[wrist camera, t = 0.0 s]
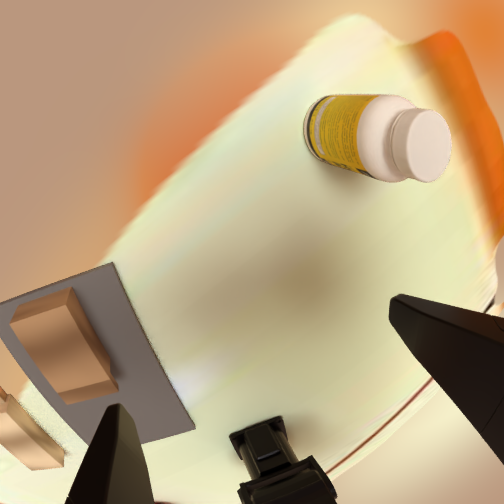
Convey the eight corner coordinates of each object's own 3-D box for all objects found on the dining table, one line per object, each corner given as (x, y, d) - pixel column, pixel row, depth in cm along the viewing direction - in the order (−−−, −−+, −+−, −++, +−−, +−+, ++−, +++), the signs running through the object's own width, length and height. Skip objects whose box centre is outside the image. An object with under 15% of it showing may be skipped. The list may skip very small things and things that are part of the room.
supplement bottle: (304, 168, 23) (396, 203, 15) (297, 96, 21) (393, 93, 12) (362, 159, 25) (457, 188, 16) (357, 94, 22) (457, 97, 14)
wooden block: (118, 370, 24) (118, 391, 22) (69, 384, 23) (66, 404, 21) (71, 286, 20) (65, 304, 18) (18, 305, 19) (9, 324, 17)
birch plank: (64, 449, 26) (63, 467, 24) (33, 453, 25) (31, 470, 23) (3, 385, 21) (-2, 403, 19) (-28, 392, 20) (-33, 409, 18)
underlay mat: (194, 425, 30) (195, 428, 30) (96, 450, 28) (96, 453, 27) (112, 262, 21) (111, 264, 21) (-14, 308, 18) (-16, 311, 18)
